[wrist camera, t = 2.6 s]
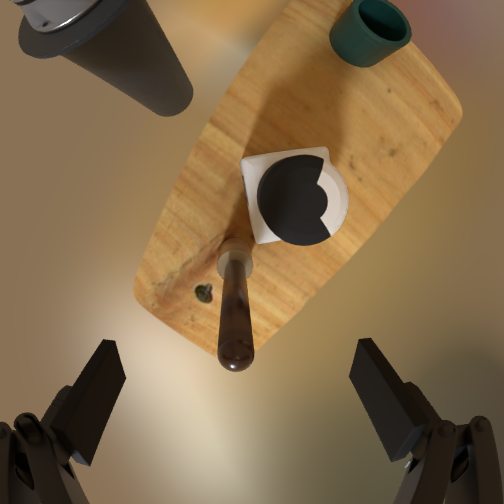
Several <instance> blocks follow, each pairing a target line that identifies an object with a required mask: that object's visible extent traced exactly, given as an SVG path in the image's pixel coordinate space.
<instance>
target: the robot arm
mask: <svg viewBox="0 0 504 504" xmlns="http://www.w3.org/2000/svg"><path fill="white" fill-rule="evenodd" d="M10 1H12V2H14V3H15V4H17V5H19V6H20V7H21V9H22V11H23V13H24V15H25V16H26V18H27V20H28V22H29V24H30V25H31V27H32V28H33V29H34V30H36V31H38V32H40V33H42V34H53V33H57V32H59V31H62V30H64V29H66V28H68V27H70V26H72V25H73V24H75V23H77V22H78V21H79V20H81V19H82V18H84V17H85V16H86V15H87V14H89V13H90V12H91V11H92V10H93V9H94V8H96V7H97V6H98V5H99V4H100V3H101V1H102V0H10ZM349 378H350V380H351V381H352V383H353V385H354V387H355V389H356V391H357V393H358V395H359V397H360V399H361V401H362V403H363V405H364V407H365V409H366V411H367V413H368V415H369V417H370V419H371V421H372V423H373V425H374V427H375V429H376V432H377V434H378V436H379V438H380V440H381V442H382V444H383V446H384V448H385V450H386V452H387V454H388V456H389V459H390V461H391V462H394V461H397V460H400V459H402V458H405V457H406V455H407V454H408V453H409V451H411V453H412V454H413V456H412V458H410V460H409V461H408V462H407V464H406V465H405V467H404V468H406V467H407V466H408V468H407V471H406V473H405V476H404V479H403V481H402V484H401V486H400V489H399V491H398V493H397V496H396V498H395V500H394V502H393V504H443V501H444V498H445V504H503V494H502V482H501V474H500V467H499V460H498V454H497V449H496V444H495V439H494V435H493V430H492V426H491V423H490V421H489V420H488V419H487V418H486V417H484V416H475V417H474V418H472V420H471V421H470V423H469V424H464V425H457V426H456V425H455V424H454V423H452V422H451V421H448V420H442V419H441V418H440V417H439V416H438V414H437V413H436V411H435V410H434V408H433V407H432V406H431V404H430V403H429V401H427V399H426V397H425V396H424V395H423V393H422V392H421V390H420V389H419V388H418V387H417V386H416V385H414V384H413V383H411V382H407V383H403V381H402V380H401V379H400V377H399V376H398V375H397V373H396V372H395V370H394V369H393V367H392V366H391V365H390V363H389V362H388V361H387V359H386V358H385V356H384V355H383V354H382V352H381V351H380V350H379V348H378V347H377V346H376V344H375V343H374V341H373V340H372V339H371V338H364V339H359V340H358V344H357V348H356V352H355V356H354V360H353V364H352V367H351V371H350V375H349ZM125 380H126V376H125V373H124V370H123V366H122V363H121V360H120V356H119V353H118V349H117V346H116V342H115V341H113V340H105V339H103V340H102V342H101V344H100V345H99V346H98V348H97V349H96V351H95V352H94V354H93V355H92V357H91V358H90V360H89V361H88V363H87V364H86V366H85V367H84V369H83V371H82V372H81V374H80V375H79V377H78V378H77V380H76V382H75V383H74V385H73V386H68V385H66V386H65V387H63V388H62V389H61V390H60V391H59V392H58V393H57V395H56V397H55V399H54V400H53V401H52V403H51V405H50V406H49V408H48V409H47V411H46V413H45V414H44V417H43V418H42V419H41V421H40V422H39V420H38V419H37V417H36V416H35V415H34V414H32V413H22V414H20V415H19V416H17V418H16V419H15V421H14V427H15V429H16V430H17V431H15V430H12V429H11V428H10V426H9V425H8V424H7V423H5V422H0V504H89V502H88V500H87V498H86V496H85V494H84V492H83V490H82V488H81V486H80V483H79V481H78V479H77V477H76V475H75V472H74V470H73V468H72V465H71V463H70V462H69V459H70V456H72V458H73V459H74V460H75V461H76V462H77V463H80V464H84V465H87V466H90V465H91V462H92V460H93V457H94V454H95V452H96V449H97V447H98V444H99V442H100V439H101V436H102V434H103V431H104V429H105V427H106V424H107V422H108V419H109V417H110V414H111V412H112V410H113V407H114V405H115V403H116V400H117V398H118V396H119V393H120V391H121V389H122V387H123V384H124V382H125Z"/></svg>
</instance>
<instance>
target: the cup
mask: <svg viewBox="0 0 504 504" xmlns="http://www.w3.org/2000/svg"><path fill="white" fill-rule="evenodd" d="M411 36H412V33H411V27H410V25H409V22H408V20H407V19H406V17H405V16H404V14H403V13H402V12H401V11H400V10H399V9H398V8H397V7H396V6H395V5H393V4H392V3H390V2H389V1H387V0H354V1H353V2H352V3H351V5H350V6H349V7H348V8H347V9H346V11H345V12H344V13H343V15H342V16H341V17H340V18H339V20H338V21H337V22H336V23H335V25H334V26H333V28H332V29H331V31H330V43H331V45H332V47H333V49H334V51H335V52H336V53H337V54H338V55H339V56H340V57H341V58H342V59H343V60H344V61H346V62H348V63H350V64H352V65H354V66H358V67H370V66H373V65H374V64H376V63H378V62H380V61H381V60H383V59H384V58H386V57H387V56H389V55H391V54H392V53H394V52H395V51H397V50H399V49H400V48H402V47H404V46H405V45H406V44H408V43H409V42H410V38H411Z"/></svg>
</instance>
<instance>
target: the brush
mask: <svg viewBox="0 0 504 504" xmlns="http://www.w3.org/2000/svg"><path fill="white" fill-rule="evenodd" d="M217 270H218V273H219V275H220V276H221V277H222V278H223V279H224V282H223V293H222V304H221V316H220V327H219V340H218V353H217V354H218V359H219V362H220V363H221V365H222V366H223V367H224V368H226V369H227V370H229V371H233V372H239V371H243V370H245V369H247V368H248V367H249V366H250V365H251V364H252V362H253V359H254V345H253V336H252V327H251V317H250V308H249V299H248V289H247V280H246V279H248V278H249V277H250V275H251V273H252V271H253V262H252V256H251V251H250V247H249V245H248V244H247V242H246V241H244V240H243V239H241V238H230V239H227V240H226V241H225V242H224V243H223V244H222V245H221V247H220V252H219V257H218V263H217Z"/></svg>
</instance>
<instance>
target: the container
mask: <svg viewBox="0 0 504 504" xmlns="http://www.w3.org/2000/svg"><path fill="white" fill-rule="evenodd" d="M240 167H241V172H242V178H243V184H244V189H245V195H246V200H247V206H248V211H249V217H250V223H251V227H252V231H253V234H254V238H255V241H256V242H257V243H258V244H262V243H268V242H273V241H279V240H283V241H285V242H288V243H290V244H294V245H301V246H306V245H313V244H317V243H320V242H322V241H324V240H326V239H328V238H329V237H331V236H332V235H333V234H334V233H335V232H336V231H337V230H338V229H339V227H340V226H341V224H342V223H343V221H344V219H345V217H346V214H347V210H348V204H349V196H348V189H347V186H346V183H345V180H344V178H343V177H342V175H341V173H340V172H339V171H338V170H337V168H336V167H335V166H334V165H332V164H331V163H330V157H329V151H328V148H327V147H324V146H321V147H312V148H303V149H295V150H287V151H280V152H273V153H266V154H260V155H254V156H248V157H244V158H243V159H242V160H241V162H240Z"/></svg>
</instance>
